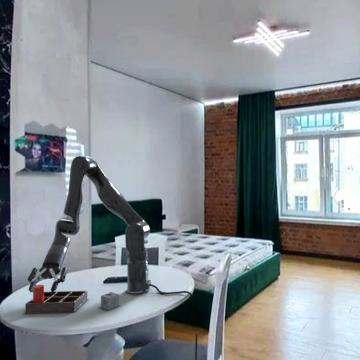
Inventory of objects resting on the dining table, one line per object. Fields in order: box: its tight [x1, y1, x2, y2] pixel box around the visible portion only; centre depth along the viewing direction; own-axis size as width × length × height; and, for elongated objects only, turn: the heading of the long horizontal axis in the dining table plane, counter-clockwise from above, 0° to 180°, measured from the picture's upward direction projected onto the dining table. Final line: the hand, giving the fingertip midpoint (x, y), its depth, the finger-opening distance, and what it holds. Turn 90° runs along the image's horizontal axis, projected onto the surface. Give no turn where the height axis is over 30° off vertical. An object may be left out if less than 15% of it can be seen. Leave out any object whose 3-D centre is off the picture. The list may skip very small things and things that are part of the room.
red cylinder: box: [32, 284, 45, 303], centre depth 127 cm, size 4×4×9 cm
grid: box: [24, 290, 88, 314], centre depth 131 cm, size 19×13×4 cm
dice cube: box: [100, 291, 120, 311], centre depth 130 cm, size 5×5×5 cm
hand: (41, 291), depth 129 cm, fingers open, 8 cm apart
